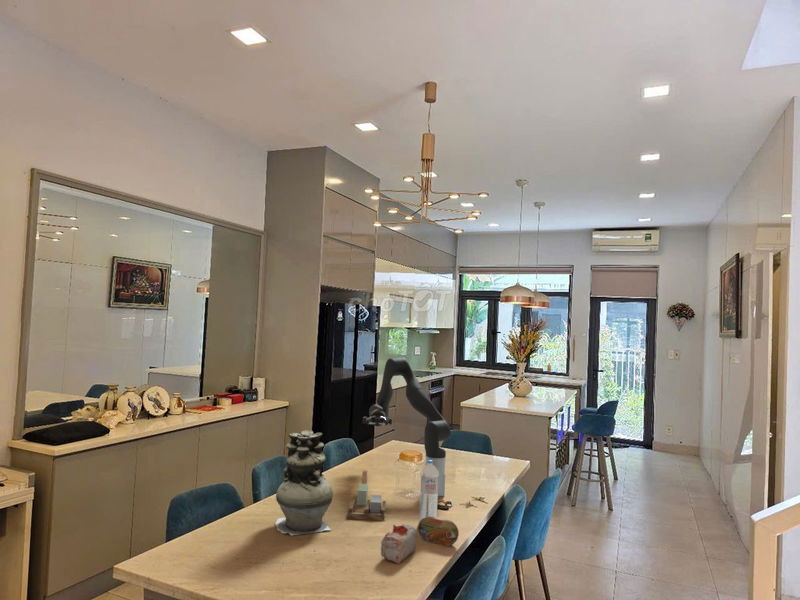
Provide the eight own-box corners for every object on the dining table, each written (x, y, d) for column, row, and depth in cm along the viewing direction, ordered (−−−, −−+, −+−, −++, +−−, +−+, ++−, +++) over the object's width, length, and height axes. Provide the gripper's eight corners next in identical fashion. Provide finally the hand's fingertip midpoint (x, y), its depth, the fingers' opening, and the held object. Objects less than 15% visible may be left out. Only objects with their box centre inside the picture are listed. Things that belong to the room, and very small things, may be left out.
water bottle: (438, 524, 207) (441, 459, 208) (433, 530, 201) (436, 463, 202) (421, 521, 209) (424, 457, 211) (416, 527, 203) (419, 461, 204)
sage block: (368, 493, 241) (369, 470, 242) (365, 505, 225) (367, 481, 225) (359, 492, 241) (360, 470, 242) (356, 504, 225) (357, 481, 225)
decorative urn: (282, 542, 185) (287, 441, 186) (268, 519, 204) (272, 428, 205) (339, 532, 195) (344, 437, 196) (320, 511, 214) (325, 424, 214)
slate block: (380, 510, 221) (381, 495, 221) (380, 517, 212) (380, 502, 212) (371, 509, 221) (371, 495, 221) (370, 517, 212) (370, 502, 212)
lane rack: (385, 509, 221) (385, 501, 221) (384, 520, 209) (384, 511, 209) (351, 507, 221) (352, 499, 221) (348, 518, 209) (349, 509, 209)
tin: (417, 539, 192) (418, 515, 193) (420, 536, 195) (421, 513, 195) (455, 549, 185) (456, 524, 185) (459, 546, 188) (460, 521, 188)
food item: (400, 566, 169) (401, 535, 170) (378, 560, 173) (379, 530, 174) (418, 551, 182) (419, 522, 182) (397, 546, 185) (398, 517, 186)
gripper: (364, 409, 270) (362, 414, 254) (392, 410, 271) (392, 415, 254) (363, 424, 270) (361, 430, 254) (391, 425, 270) (391, 431, 254)
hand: (377, 422), depth 254 cm, fingers open, 8 cm apart
